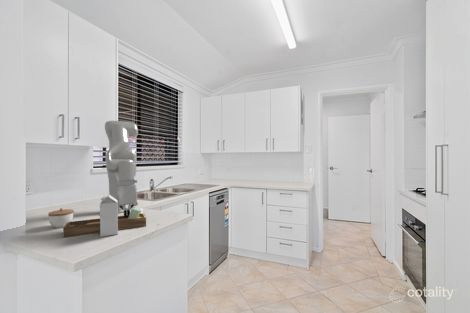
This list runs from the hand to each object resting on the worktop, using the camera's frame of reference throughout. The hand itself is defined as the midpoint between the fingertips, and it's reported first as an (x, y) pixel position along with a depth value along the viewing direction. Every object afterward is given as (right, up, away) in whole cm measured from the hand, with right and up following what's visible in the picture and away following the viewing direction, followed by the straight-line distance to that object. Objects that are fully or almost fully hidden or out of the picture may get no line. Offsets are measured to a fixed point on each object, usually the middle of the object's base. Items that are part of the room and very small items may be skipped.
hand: (127, 217), depth 121 cm
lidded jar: (-35, -5, 0) cm, 35 cm away
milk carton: (-2, -4, -13) cm, 14 cm away
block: (+3, 0, 0) cm, 3 cm away
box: (-7, -4, -6) cm, 10 cm away
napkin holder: (+1, -5, +11) cm, 12 cm away
